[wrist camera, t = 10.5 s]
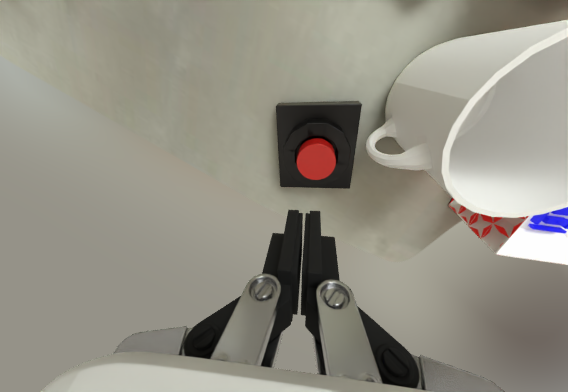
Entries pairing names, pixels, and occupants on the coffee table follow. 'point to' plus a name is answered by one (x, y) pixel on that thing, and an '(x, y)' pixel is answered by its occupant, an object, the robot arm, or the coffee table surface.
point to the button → (316, 159)
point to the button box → (317, 124)
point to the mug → (486, 120)
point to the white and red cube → (521, 234)
